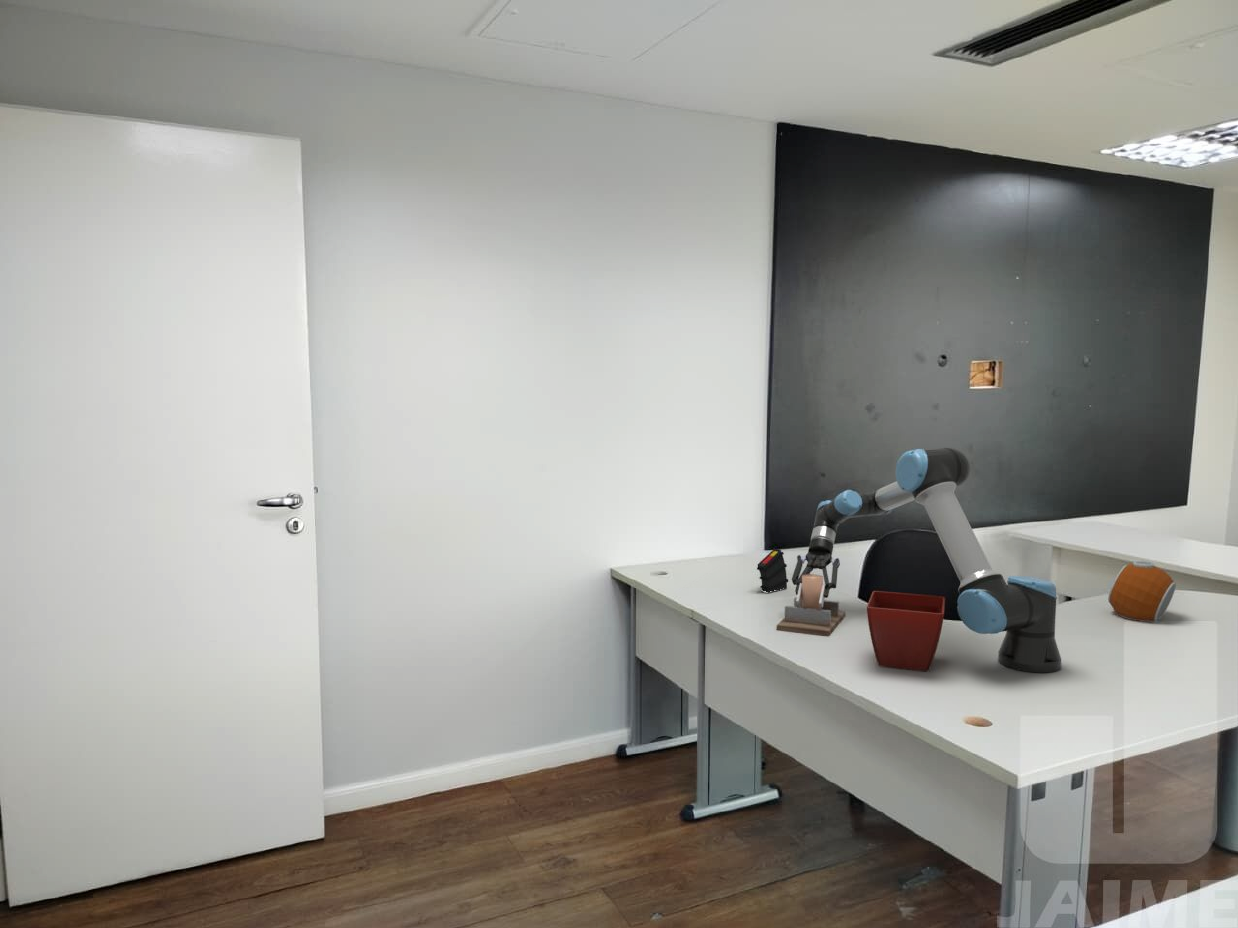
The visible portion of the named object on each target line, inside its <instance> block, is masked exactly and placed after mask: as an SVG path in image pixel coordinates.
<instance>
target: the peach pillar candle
mask: <svg viewBox="0 0 1238 928" xmlns="http://www.w3.org/2000/svg"><path fill="white" fill-rule="evenodd" d="M823 582H824V576H823V575H821V574H815V573H810V574H805V575H802V608H812V609H821V610H823V608H820V605H819V600H820V595H821V590H822V585H824V583H823Z"/></svg>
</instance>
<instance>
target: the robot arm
mask: <svg viewBox="0 0 1238 928" xmlns="http://www.w3.org/2000/svg"><path fill="white" fill-rule="evenodd" d="M971 467H972V466H971V462H970V460H969V457H968V456H967V455H966V454H965V453H963V452H962V451H961V450H959V449H956V448H952V447H943V448H941V447H940V448H926V449H925V448H917V449H912V450H907V451H906V452H904V453H903V454H902V455H901V456H900V458H898V461H897V463H896V468H895V479H896V480H895V481H894V482H892V483H890V484H887V485H885V486H883V487H881V488H879V489H877V490H874V491H872V492H866V493H865V492H864V493H858V492H857V491H854V490H851V489H846V490H844V491H842V492H841V493H839V494H838V495H837V496H835V497H834V498H833V499H832V500H828V499H827V500H825V501H824V500H823V501H820V503H819V504H818V506H817V509H816V513H815V518H814V523H813V526H812V527H813V528H812V532H811V537H810V541H809V545H808V551H807V553H806V554H805V555H803V556H801V555H800V554H799V555H796V559H797V560H796V561H797V562H796V565H795V568H794V570H793V571H794V572H793V574H792V577H791V581H792V584H793V585H795V590H794V592H795V595H796V597H797V599H796V602H797V605H799V606H800V604H801V599H802V575H805V574H811V572H812V571H814V570H817V569H819V570H822V576H823V582H824V584H823V585H822V590H821V595H820V600H819V605H820V608H823V604H824V600H825V598H829V595H830V590H831V589H837V582H838V570H839V567H840V565H841V562H840V558H838V557H837V558H833V556H832V555H833V551H834V545H835V541H836V536H837V530H838V527H839V525H840V524H842V523H844V522H845V521H846V520H847V519H851V518H860V517H861V518H863V517H870V516H872V517H873V516H884V515H888V514H891V513H892V512H893V510H894V509H897V508H898V507H900V506H903V505H905V504H908V503H910V502H912V501H915V503H917V504H919V505H922V506H924V508H925V510H926V513H927V515H928V516H929V519H930V521H931V523H932V525H933V527H934V529H935V531H936V533H937V536H938V538H939V540H940V542H941V544H942V546H943V548H944V551H945V552H946V555H947V556H948V559H949V560H950V561H949V562H950V563H951V565H952V567H953V569H954V572H955V573H956V576H957V578H958V580H959V581H960V585H959V586H958V589H957V591H958V593H959V596H958V598H957V600H956V603H957V606H956V608H957V609H956V611H957V615H958V616H959V618H960V620H961V621H962V623H963V624H964V626H966V627H967V628H968V629H969V630H970V631H972V632H974V633H977V634H981V635H988V634H991V635H993V634H994V635H995V634H999V633H1001V632H1005V636H1004V638H1003V640H1002V643H1001V645H1000V647H999V651H998V663H1000V664H1001V665H1003V666H1004V667H1007V668H1011V669H1014V670H1016V671H1017V670H1019V671H1022V672H1027V673H1028V672H1029V673H1053V672H1057V671H1059V670H1061V668H1062V657H1061V653H1060V650H1059V646H1058V644H1057V641H1056V637H1055V635H1056V618H1057V617H1056V615H1057V613H1056V612H1057V599H1058V597H1057V586H1055V584H1054V583H1053V582H1051V581H1049V580H1045V579H1042V578H1035V577H1030V576H1021V575H1010V576H1008V578H1007V580H1005V578H1004V576H1003V575H1002V573H1000V572H997V571H995V570H993V568H992V566H991V564H990V562H989V561H988V558H987V556H986V555H985V553H984V550H983V548H982V546H981V544H980V542H979V540H978V538H977V536H976V535H975V532H974V531H973V528H972V526H971V525H970V522H969V520H968V518H967V516H966V514H965V512H964V510H963V508H962V506H961V505H960V502H959V499H957V496H956V495H955V491H956V488H958V487H960V486H962V485H964V484H965V482H967V481H968V479H969V478H970V476H971V471H972V470H971V469H972V468H971ZM805 561H806V562H807V563H806V566H805V567H804V569H803V570H802V568H803V565H804V563H805ZM830 564H832V568H831V569H832V571H831V582H830V581H829V576H828V570H827V567H828V566H829V565H830ZM801 572H802V573H801ZM1006 581H1007V582H1006Z"/></svg>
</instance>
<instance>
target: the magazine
mask: <svg viewBox="0 0 1238 928" xmlns="http://www.w3.org/2000/svg"><path fill="white" fill-rule="evenodd" d="M784 554H785V552H784V551H782V550H781V549H778V548H774V549H772V550H771V552H769V553H768V554H767V555H766V556H765V557H764V558H762V560H760V562H759V563H758V564H757V567H756V570H757V571H759V574H760V577H758V578H759V580H760V581H761V585H760V587H759V588H760V589H761V591H762V590H763V591H766V592H770V591H774V590H779V591H781V590H780V589H783V588H787V589H788V584H787V583H789V578H787V569H786V568H787V567H788V564H787V563H785V559H784ZM783 590H784V589H783Z"/></svg>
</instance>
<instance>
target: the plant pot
mask: <svg viewBox="0 0 1238 928" xmlns="http://www.w3.org/2000/svg"><path fill="white" fill-rule="evenodd" d="M945 605H946V597H945V596H936V595H928V594H915V593H905V592H893V591H891V592H890V591H881V590H873V591H872V593H871V595H870V598H869V600H868V602H867V604H866V614H867V623H868V628H869V634H870V639H871V644H872V648H873V652H874V654H875V655H874V656H875V659H876V662H877V664H878V666H879V667H888V668H894V669H895V668H896V669H897V668H898V669H903V670H904V669H905V670H913V671H921V672H928V671H930V668H931V666H932V664H933V661H934V658H935V655H936V652H937V649H938V645H939V641H940V637H941V633H942V628H943V624H944V616H945Z"/></svg>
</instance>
